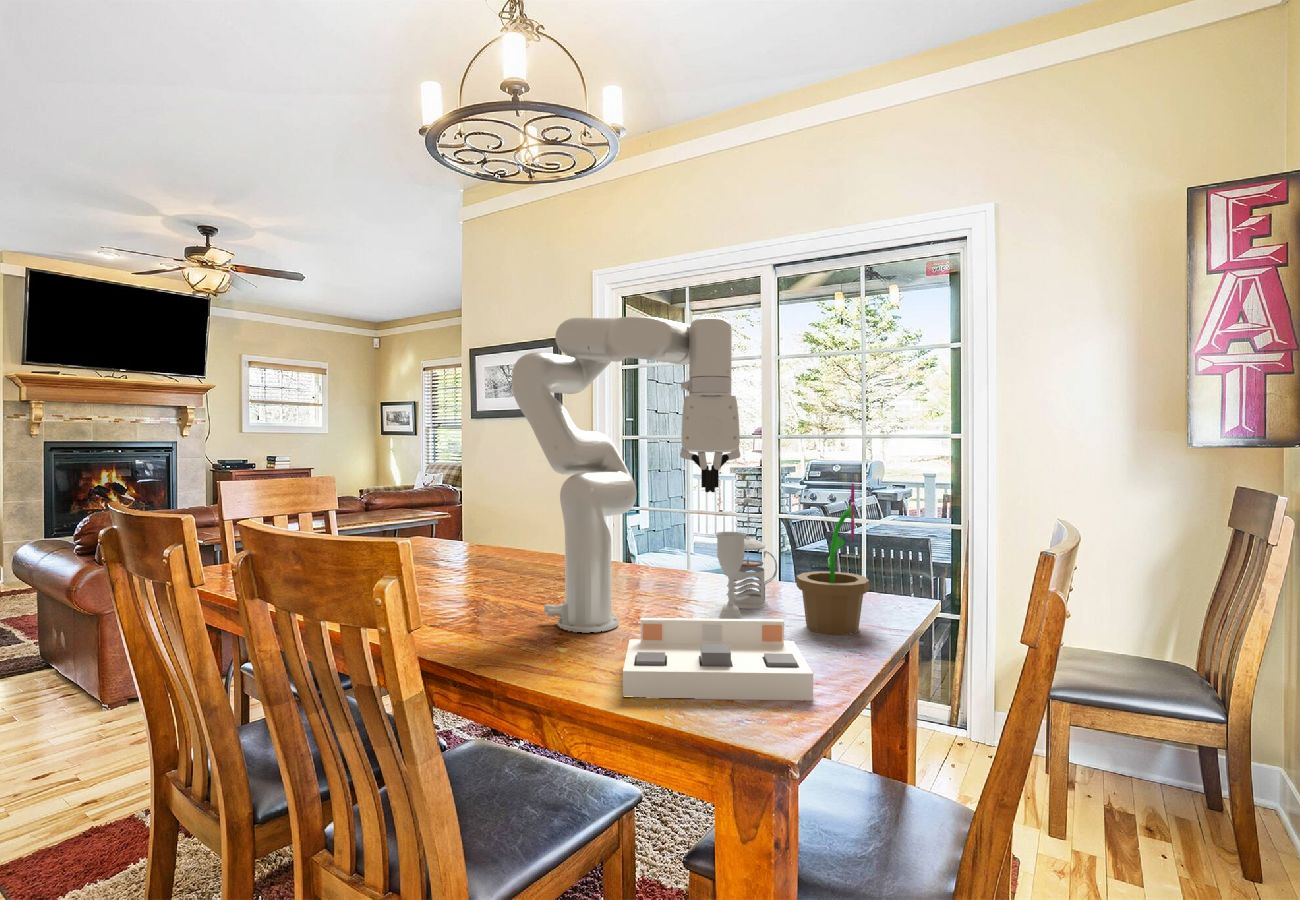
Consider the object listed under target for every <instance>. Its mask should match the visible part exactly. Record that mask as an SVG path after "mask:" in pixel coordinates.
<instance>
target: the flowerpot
mask: <svg viewBox="0 0 1300 900" xmlns="http://www.w3.org/2000/svg"><path fill="white" fill-rule="evenodd" d="M850 501H851V502H850V505H849V506H848V507H847V509H846V510H845V511H844V512H843V513H842V514H841V516H840V518H839V520H838V522H837V523H836V526H835V527H834V529H833V534H832V538H831V543H830V547H829V555H830V556H828V558H827V569H829V571H819V570H818V571H817V570H816V571H808V572H802V573H800V574H798V575H796V587H797V588H798V590H800V591H801V593H802V600H803V608H804V609H803V610H804V617H805V624H806V627H807V629H808V630H809V631H812V632H814V631H815V632H814V633H817V634H822V633H823V634H824V635H829V636H846V635H845V634H848V635H851V634H850V633H854V634H856V633H857V632H858V631H859V627H860V621H861V620H860V619H861V613H862V607H863V606H862V605H863V598H864V595H865V594H867V593H868V592H869V591H870V580H869V579H868V578H867V577H865V576H863V575H861V574H860V575H859V574H856V573H851V572H842V571H841V572H840V571H835V570H836V563H835V562H836V552H838V551H839V550H840V549H841V548H842V547H843V546H844V545H845V540H844V539H843V538H841V537H840V536H838V535H839V531H840V530H841V528H842V525H844V522H845V520H846V519H847V518H850V538H851V539H850V540H851V542H853V543H854V539H855V483H854V481H852V482H851V486H850ZM857 630H858V631H857ZM856 631H857V632H856ZM855 632H856V633H855ZM823 634H822V635H823ZM843 634H844V635H843Z"/></svg>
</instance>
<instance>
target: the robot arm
mask: <svg viewBox="0 0 1300 900" xmlns="http://www.w3.org/2000/svg"><path fill="white" fill-rule="evenodd" d="M731 324H732V323H730V321H729V320H727V319H725V318H722V317H716V316H715V317H713V316H712V317H701V318H700V317H699V318H697V319H694V320H693V321H691V322H690V324H688V323H683V322H678V321H674V320H670V319H666V318H660V317H651V316H650V317H649V316H621V317H617V318H616V317H610V318H609V317H572V318H569V319H567V320H564V321H563V322H561V323H560V324H559V325H558V327H557V329H556V332H555V343H556V346H557V347H558V349H559V350H560V351H561V352H562V353H563V354H557V353H552V352H551V353H549V352H529V353H526V354H524V355H521V356H520V358H518V359H517V360H516V362H515V364H514V366H513V369H512V373H511V389H512V393H513V396H514V399H515V401H516V404H517V406H518V407H519V409H520V411H521V413H522V414H523V416H524V417H525V419H526V420H527V422H528V424H529V425H530V427H531V429H532V431H533V433H534V435H535V437H536V439H537V442H538V444H539V446H540V448H541V450H542V452H543V454H544V455H545V458H546V459H547V462H548V464H549V465H550V467H551V469H552V470H553V471H554V472H556V473H557V474H561V475H569V477H568V478H567V479H565V481H564V482H563V483H562V485H561V489H560V493H559V501H560V506H561V507H560V508H561V512H562V518H563V526H564V555H565V556H564V558H565V559H564V565H565V566H564V568H565V569H564V572H565V573H564V575H565V578H564V579H565V580H564V581H565V582H564V583H565V585H564V587H565V588H564V592H565V593H564V594H565V595H564V602H563V603H562V602H561V603H559V604H557V605H555V604H544V608H543V609H544V611H543V613H544V615H547V616H549V617H555V616H558V617H559V618H558V619H557V627H558V626H559V627H560V628H559V627H558V628H559V629H561V628H562V629H564V630H563V631H565V630H568V631H567V632H570V631H573V632H572V633H577V632H582V633H581V634H591V633H590V632H594V633H600V632H601V631H602V632H607V631H610V630H614V629H615V628H617V627H618V626H619V625H620V619H619V617H618V616H617V615H615V614H612V537H611V533H610V529H609V527H608V525H607V523H606V520H605V517H611V516H617V515H623V514H626V513H627V512H630V511H631V510H632V509H633V507H634V506H635V503H636V500H637V487H636V484H635V481H634V479H633V477H632V475H631V473H630V471H629V469H628V467H627V465H626V464H625V461H624V460H623V458H622V456H621V454H620V453H619V450H618V449H617V447H616V445H615V444H614V442H613V441H612V440H611V439H610V437H608V435H606V434H605V433H602V432H601V431H597V430H582V429H580V428H578V427H577V426H576V424H575V423H574V421H573V420H572V418H571V415H570V414H569V411H568V410H567V408H566V407H565V406H564V405H563V404H562V402H560V401H559V400H558V399H557V398H556V397H554V395H553V394H567V395H573V394H574V395H575V394H579V393H581V392H583V391H584V390H585V389H587V388H588V387H589V386H590V385H591V384H592V383H593V382H594V381H595V380H596V379H597V377H599V376H600V374H602V372H603V371H605V369H607V367H608V366H609V365H610V364H611V363H612V362H622V361H625V360H626V359H637V360H646V361H647V360H648V361H656V362H662V363H670V364H674V365H679V366H680V365H683V366H684V365H685V366H687V365H689V366H688V369H689V370H688V377H689V378H688V380H687V381H685V382H681V383H680V390H681V391H683V390H685V391H687V392H688V395H685V396H684V400H683V407H682V414H681V415H682V417H681V434H680V435H681V437H680V438H681V441H680V442H681V449H680V453H679V456H680V458H681V459H685V460H689V461H692V462H694V463H695V464H696V465H697V466H698V467H699V468H700V470H701V477H700V478H701V481H700V483H701V488H704V491H705V493H709V492H711V493H716V492H715V491H716V488H719V483H720V482H719V479H720V478H719V477H720V476H719V474H720V473H719V472H720V471H719V470H720V469H721V468H722V467H723V466H724V465H725V464H726V462H728V461H731V460H732V461H733V460H736V459H739V458H741V451H740V448H739V447H740V438H741V437H740V435H741V434H740V419H739V407H738V401H737V396H736V395H732V339H733V338H732V333H733V332H732V325H731ZM552 393H553V394H552ZM696 453H697V454H696ZM706 453H714V455H713V463H712V465H711V466H710V467H711V468H710V469H709V465H708V464H707V462H708V461H707V458H706V457H707V455H706ZM562 629H561V630H562Z"/></svg>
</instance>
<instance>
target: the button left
mask: <svg viewBox="0 0 1300 900" xmlns="http://www.w3.org/2000/svg"><path fill="white" fill-rule="evenodd" d="M636 666H665V652H637V658H636Z"/></svg>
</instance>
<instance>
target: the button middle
mask: <svg viewBox="0 0 1300 900" xmlns="http://www.w3.org/2000/svg"><path fill="white" fill-rule="evenodd" d="M701 666H707V667H731V651H730V648H729V644H701Z"/></svg>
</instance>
